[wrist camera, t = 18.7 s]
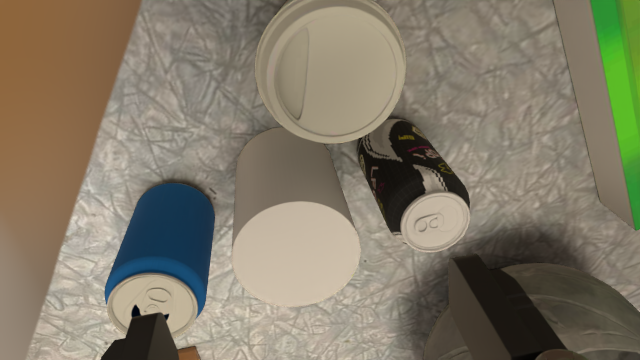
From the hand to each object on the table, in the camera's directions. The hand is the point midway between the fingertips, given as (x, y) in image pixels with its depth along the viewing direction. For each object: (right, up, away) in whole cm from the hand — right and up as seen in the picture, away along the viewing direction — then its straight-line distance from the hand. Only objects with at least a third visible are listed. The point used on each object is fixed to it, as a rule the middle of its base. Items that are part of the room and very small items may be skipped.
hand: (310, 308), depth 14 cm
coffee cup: (0, +15, +23) cm, 27 cm away
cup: (-3, +4, +28) cm, 29 cm away
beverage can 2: (+6, +6, +28) cm, 30 cm away
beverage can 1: (-12, +1, +29) cm, 31 cm away
